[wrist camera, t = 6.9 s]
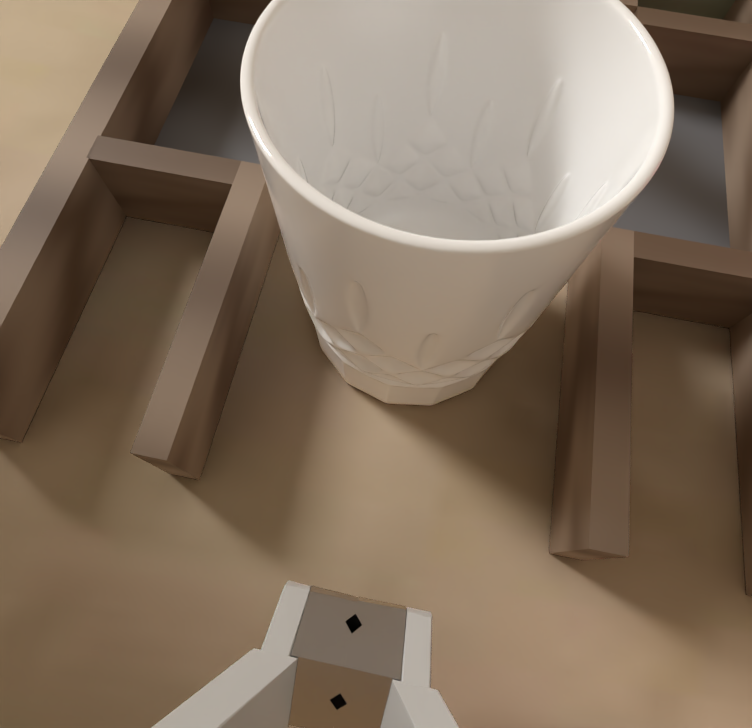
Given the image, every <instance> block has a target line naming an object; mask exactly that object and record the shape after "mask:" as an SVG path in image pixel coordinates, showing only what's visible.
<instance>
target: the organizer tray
mask: <svg viewBox="0 0 752 728" xmlns="http://www.w3.org/2000/svg"><path fill="white" fill-rule="evenodd" d="M271 1H272V0H139V2H138V3H137V5H136V7H135V9H134V11H133V12H132V14H131V16H130V18H129V19H128V21H127V23H126V25H125V27H124V28H123V30H122V32H121V34H120V36H119V37H118V39H117V41H116V43H115V44H114V46H113V48H112V50H111V52H110V53H109V55H108V57H107V59H106V61H105V62H104V64H103V66H102V68H101V69H100V71H99V73H98V75H97V77H96V78H95V80H94V82H93V84H92V86H91V87H90V89H89V91H88V93H87V95H86V96H85V98H84V100H83V102H82V103H81V105H80V107H79V109H78V111H77V112H76V114H75V116H74V118H73V120H72V121H71V123H70V125H69V127H68V128H67V130H66V132H65V134H64V136H63V137H62V139H61V141H60V143H59V145H58V146H57V148H56V150H55V152H54V153H53V155H52V157H51V159H50V161H49V162H48V164H47V166H46V168H45V170H44V171H43V173H42V175H41V177H40V178H39V180H38V182H37V184H36V186H35V187H34V189H33V191H32V193H31V195H30V196H29V198H28V200H27V202H26V204H25V205H24V207H23V209H22V211H21V212H20V214H19V216H18V218H17V220H16V221H15V223H14V225H13V227H12V229H11V230H10V232H9V234H8V236H7V237H6V239H5V241H4V243H3V245H2V246H1V248H0V438H2V439H7V440H12V441H17V442H22V440H23V438H24V436H25V434H26V432H27V429H28V427H29V425H30V423H31V421H32V419H33V416H34V414H35V412H36V410H37V408H38V406H39V404H40V401H41V399H42V397H43V395H44V393H45V391H46V388H47V386H48V384H49V382H50V380H51V378H52V376H53V373H54V371H55V369H56V367H57V365H58V363H59V360H60V358H61V356H62V354H63V352H64V350H65V348H66V345H67V343H68V341H69V339H70V337H71V335H72V332H73V330H74V328H75V326H76V324H77V322H78V320H79V317H80V315H81V313H82V311H83V309H84V307H85V304H86V302H87V300H88V298H89V296H90V294H91V292H92V289H93V287H94V285H95V283H96V281H97V279H98V276H99V274H100V272H101V270H102V268H103V266H104V264H105V261H106V259H107V257H108V255H109V253H110V251H111V248H112V246H113V244H114V242H115V240H116V238H117V236H118V233H119V231H120V229H121V227H122V225H123V223H124V220H125V218H126V216H128V217H134V218H139V219H145V220H150V221H155V222H161V223H166V224H171V225H177V226H182V227H188V228H193V229H198V230H204V231H209V232H214V234H213V237H212V239H211V242H210V244H209V247H208V250H207V252H206V255H205V257H204V260H203V263H202V265H201V268H200V271H199V273H198V276H197V278H196V281H195V284H194V286H193V289H192V292H191V294H190V297H189V299H188V302H187V305H186V307H185V310H184V313H183V315H182V318H181V320H180V323H179V326H178V328H177V331H176V334H175V336H174V339H173V341H172V344H171V347H170V349H169V352H168V354H167V357H166V360H165V362H164V365H163V368H162V370H161V373H160V375H159V378H158V381H157V383H156V386H155V389H154V391H153V394H152V396H151V399H150V402H149V404H148V407H147V410H146V412H145V415H144V417H143V420H142V423H141V425H140V428H139V431H138V433H137V436H136V438H135V441H134V444H133V446H132V449H131V452H130V453H131V454H133V455H135V456H137V457H139V458H141V459H143V460H145V461H146V462H148V463H150V464H152V465H154V466H156V467H158V468H160V469H161V470H163V471H165V472H167V473H169V474H174V475H179V476H183V477H188V478H193V479H198V480H200V477H201V474H202V471H203V468H204V465H205V462H206V458H207V455H208V452H209V449H210V446H211V443H212V440H213V437H214V434H215V431H216V428H217V425H218V421H219V418H220V415H221V412H222V409H223V406H224V403H225V400H226V397H227V394H228V391H229V388H230V384H231V381H232V378H233V375H234V372H235V369H236V366H237V363H238V360H239V357H240V354H241V351H242V347H243V344H244V341H245V338H246V335H247V332H248V329H249V326H250V323H251V320H252V317H253V314H254V310H255V307H256V304H257V301H258V298H259V295H260V292H261V289H262V286H263V283H264V280H265V277H266V273H267V270H268V267H269V264H270V261H271V258H272V255H273V252H274V249H275V246H276V243H277V240H278V236H279V233H280V228H279V225H278V222H277V218H276V215H275V212H274V208H273V205H272V202H271V198H270V195H269V192H268V188H267V185H266V182H265V178H264V175H263V172H262V168H261V165H260V162H259V159H258V156H257V152H256V149H255V146H254V143H253V139H252V136H251V133H250V130H249V127H248V123H247V120H246V117H245V113H244V109H243V105H242V99H241V90H240V73H241V63H242V58H243V53H244V50H245V46H246V43H247V41H248V38H249V36H250V33H251V31H252V29H253V27H254V25H255V23H256V22H257V20H258V18H259V17H260V15H261V14H262V12H263V11H264V10H265V8H266V7H267V6H268V5H269V3H270V2H271ZM620 1H621V2H622V3H623V4H624V5H625V6H626V7H627V8H628V9H629V10H630V11H631V12H632V13H633V14H634V15H635V16H636V17H637V18H638V20H639V21H640V22H641V23H642V24H643V26H644V27H645V28H646V30H647V31H648V32H649V34H650V35H651V37H652V38H653V40H654V42H655V43H656V45H657V47H658V49H659V51H660V53H661V55H662V57H663V59H664V61H665V64H666V66H667V69H668V72H669V76H670V79H671V84H672V89H673V95H674V122H673V129H672V134H671V138H670V142H669V145H668V148H667V151H666V153H665V155H664V158H663V160H662V162H661V164H660V166H659V168H658V169H657V171H656V172H655V174H654V176H653V177H652V178H651V180H650V181H649V183H648V184H647V185H646V186H645V188H644V189H643V190H642V191H641V192H640V194H639V195H638V196H637V197H636V199H635V200H634V201H633V202H632V203H631V205H630V206H629V207H628V208H627V209H626V211H625V212H624V213H623V214H622V216H621V217H620V218H619V219H618V220H617V222H616V223H615V224H614V225H613V227H612V228H611V229H610V230H609V231H608V233H607V234H606V235H605V236H604V238H603V239H602V240H601V241H600V242H599V244H598V245H597V246H596V247H595V249H594V250H593V251H592V252H591V254H590V255H589V256H588V257H587V258H586V260H585V261H584V262H583V263H582V265H581V266H580V267H579V268H578V270H577V271H576V272H575V273H574V275H573V276H572V277H571V278H570V279H569V281H568V290H567V304H566V318H565V333H564V347H563V361H562V375H561V389H560V404H559V418H558V432H557V446H556V460H555V475H554V489H553V503H552V517H551V532H550V546H549V553H550V554H555V555H560V556H565V557H569V558H574V559H579V560H591V559H606V558H620V557H629V520H630V457H631V394H632V332H633V310H635V311H640V312H645V313H651V314H656V315H662V316H667V317H672V318H678V319H683V320H688V321H694V322H699V323H705V324H710V325H715V326H721V327H726V328H730V340H731V356H732V372H733V389H734V405H735V421H736V437H737V453H738V469H739V485H740V501H741V517H742V533H743V549H744V566H745V582H746V595H750V596H752V0H620Z"/></svg>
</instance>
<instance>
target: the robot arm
mask: <svg viewBox="0 0 752 728" xmlns="http://www.w3.org/2000/svg"><path fill="white" fill-rule="evenodd" d="M431 655H432V614H431V612H429V611H424V610H419V609H415V608H410V607H406V606H402V605H397V604H392V603H387V602H382V601H377V600H373V599H368V598H363V597H356V596H351V595H347V594H343V593H339V592H335V591H331V590H327V589H323V588H319V587H315V586H309V585H305V584H301V583H297V582H293V581H289V580H288V581H287V583H286V584H285V586H284V588H283V591H282V593H281V596H280V599H279V602H278V604H277V607H276V610H275V612H274V615H273V618H272V621H271V623H270V626H269V629H268V631H267V634H266V637H265V640H264V642H263V645H262V648H261V649H255V648H253V649H252V650H250V651H249V652H248V653H247V654H245V655H244V656H243V657H241V658H240V659H239V660H238V661H236V662H235V663H234V664H232V665H231V666H230V667H229V668H227V669H226V670H225V671H223V672H222V673H221V674H219V675H218V676H217V677H216V678H214V679H213V680H212V681H210V682H209V683H208V684H207V685H205V686H204V687H203V688H201V689H200V690H199V691H198V692H196V693H195V694H194V695H192V696H191V697H190V698H189V699H187V700H186V701H185V702H183V703H182V704H181V705H180V706H178V707H177V708H176V709H174V710H173V711H172V712H170V713H169V714H168V715H167V716H165V717H164V718H163V719H161V720H160V721H159V722H158V723H156V724H155V725H154V726H152V727H151V728H288V725H293V726H298V727H303V728H459V726H458V724H457V723H456V721H455V719H454V717H453V715H452V714H451V712H450V710H449V708H448V706H447V705H446V703H445V701H444V699H443V698H442V696H441V694H440V692H439V690H436V689H432V688H431ZM333 726H334V727H333Z"/></svg>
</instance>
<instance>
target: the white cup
mask: <svg viewBox="0 0 752 728" xmlns="http://www.w3.org/2000/svg"><path fill="white" fill-rule="evenodd" d="M240 90H241V99H242V105H243V109H244V113H245V117H246V120H247V123H248V127H249V130H250V133H251V136H252V139H253V143H254V146H255V149H256V152H257V156H258V159H259V162H260V165H261V168H262V172H263V175H264V178H265V182H266V185H267V188H268V192H269V195H270V198H271V202H272V205H273V208H274V212H275V215H276V218H277V222H278V225H279V228H280V232H281V235H282V238H283V242H284V245H285V248H286V251H287V254H288V258H289V261H290V263H291V266H292V269H293V272H294V275H295V277H296V280H297V282H298V285H299V288H300V292H301V295H302V298H303V301H304V304H305V306H306V308H307V310H308V313H309V315H310V317H311V319H312V321H313V323H314V325H315V328H316V332H317V336H318V340H319V343H320V347H321V349H322V351H323V352H324V353H325V355H326V356H327V357H328V359H329V360H330V361H331V363H332V364H333V365H334V367H335V368H336V369H337V371H338V372H339V373H340V375H341V376H342V377H343V379H344V380H345V381H346V383H348V384H350V385H352V386H354V387H356V388H357V389H359V390H361V391H363V392H365V393H367V394H369V395H371V396H373V397H375V398H377V399H379V400H381V401H383V402H384V403H388V404H409V405H429V406H431V405H434V404H437V403H439V402H442V401H444V400H446V399H449V398H451V397H454V396H456V395H459V394H461V393H463V392H466V391H468V390H471V389H472V388H473V387H474V386H475V385H476V384H477V383H478V381H479V380H480V379H481V378H482V377H483V376H484V374H485V373H486V372H487V371H488V370H489V369H490V367H491V366H492V365H493V364H494V363H495V362H496V360H497V359H498V358H499V357H501V356H502V355H504V354H505V353H506V352H508V351H509V350H510V349H511V348H512V347H513V346H514V345H515V343H516V342H517V341H518V340H519V339H520V337H521V336H522V335H523V334H524V333H525V332H526V331H527V330H528V329H529V328H531V326H532V325H533V324H534V322H535V321H536V320H537V319H538V317H539V316H540V315H541V314H542V312H543V311H544V310H545V309H546V307H547V306H548V305H549V304H550V302H551V301H552V300H553V299H554V297H555V296H556V295H557V294H558V292H559V291H560V290H561V289H562V288H563V286H564V285H565V284H566V283H567V282H568V281H569V279H570V278H571V277H572V276H573V275H574V273H575V272H576V271H577V270H578V268H579V267H580V266H581V265H582V263H583V262H584V261H585V260H586V258H587V257H588V256H589V255H590V254H591V252H592V251H593V250H594V249H595V247H596V246H597V245H598V244H599V242H600V241H601V240H602V239H603V238H604V236H605V235H606V234H607V233H608V231H609V230H610V229H611V228H612V227H613V225H614V224H615V223H616V222H617V220H618V219H619V218H620V217H621V216H622V214H623V213H624V212H625V211H626V209H627V208H628V207H629V206H630V205H631V203H632V202H633V201H634V200H635V199H636V197H637V196H638V195H639V194H640V192H641V191H642V190H643V189H644V188H645V186H646V185H647V184H648V183H649V181H650V180H651V178H652V177H653V176H654V174H655V172H656V171H657V169H658V168H659V166H660V164H661V162H662V160H663V158H664V155H665V153H666V151H667V148H668V145H669V142H670V138H671V134H672V129H673V122H674V95H673V89H672V84H671V79H670V76H669V72H668V69H667V66H666V64H665V61H664V59H663V57H662V55H661V53H660V51H659V49H658V47H657V45H656V43H655V42H654V40H653V38H652V37H651V35H650V34H649V32H648V31H647V30H646V28H645V27H644V26H643V24H642V23H641V22H640V21H639V20H638V18H637V17H636V16H635V15H634V14H633V13H632V12H631V11H630V10H629V9H628V8H627V7H626V6H625V5H624V4H623V3H622V2H621V1H620V0H272V1H271V2H270V3H269V5H268V6H267V7H266V8H265V10H264V11H263V12H262V14H261V15H260V17H259V18H258V20H257V22H256V23H255V25H254V27H253V29H252V31H251V33H250V36H249V38H248V41H247V43H246V46H245V50H244V53H243V58H242V63H241V73H240Z"/></svg>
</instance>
